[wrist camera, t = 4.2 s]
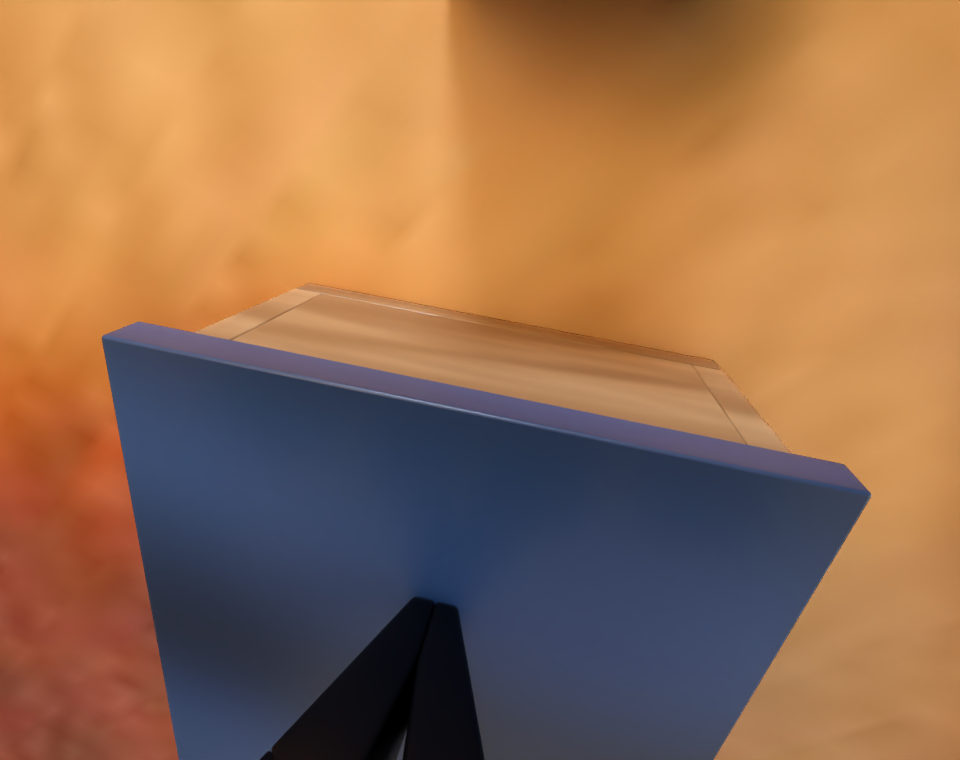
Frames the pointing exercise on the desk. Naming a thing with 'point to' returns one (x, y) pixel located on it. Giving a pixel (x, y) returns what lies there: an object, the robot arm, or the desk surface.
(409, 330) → the storage box
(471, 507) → the blue lid
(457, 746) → the robot arm
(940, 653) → the desk surface
